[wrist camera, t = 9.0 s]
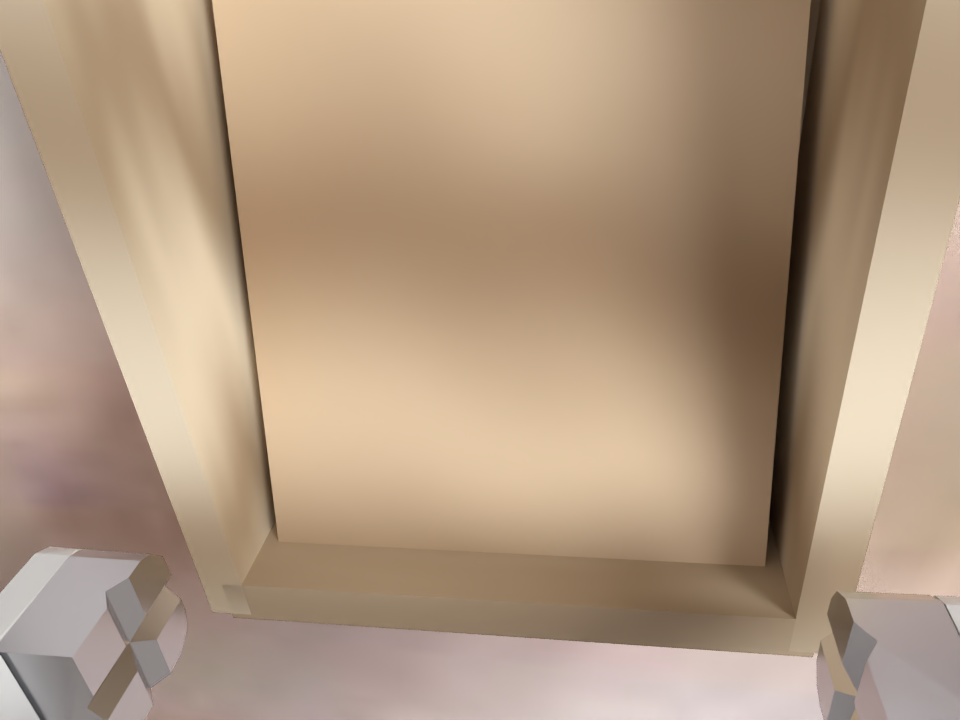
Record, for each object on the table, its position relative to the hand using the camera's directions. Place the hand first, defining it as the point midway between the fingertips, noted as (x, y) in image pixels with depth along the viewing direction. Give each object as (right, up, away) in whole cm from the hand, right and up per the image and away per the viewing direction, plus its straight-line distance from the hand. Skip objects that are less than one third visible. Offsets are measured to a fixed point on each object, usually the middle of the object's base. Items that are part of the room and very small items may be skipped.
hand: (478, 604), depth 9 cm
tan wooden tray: (+1, +9, +4) cm, 9 cm away
